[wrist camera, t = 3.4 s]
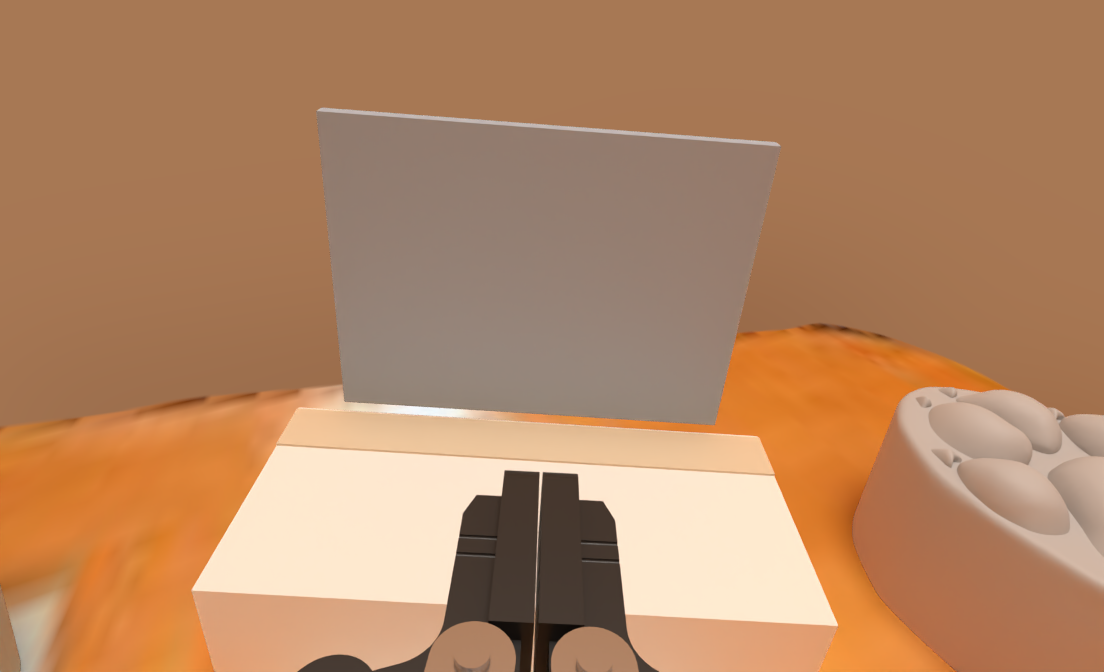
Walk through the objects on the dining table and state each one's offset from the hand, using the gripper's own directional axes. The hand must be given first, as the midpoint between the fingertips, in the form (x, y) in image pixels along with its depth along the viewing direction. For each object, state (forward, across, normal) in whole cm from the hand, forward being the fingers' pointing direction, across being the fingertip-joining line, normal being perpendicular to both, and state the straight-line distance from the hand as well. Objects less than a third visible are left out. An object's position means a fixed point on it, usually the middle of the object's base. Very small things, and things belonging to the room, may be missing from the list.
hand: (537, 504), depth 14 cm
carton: (+8, 0, +14) cm, 16 cm away
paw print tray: (+11, -21, +14) cm, 28 cm away
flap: (+14, 0, +7) cm, 16 cm away
